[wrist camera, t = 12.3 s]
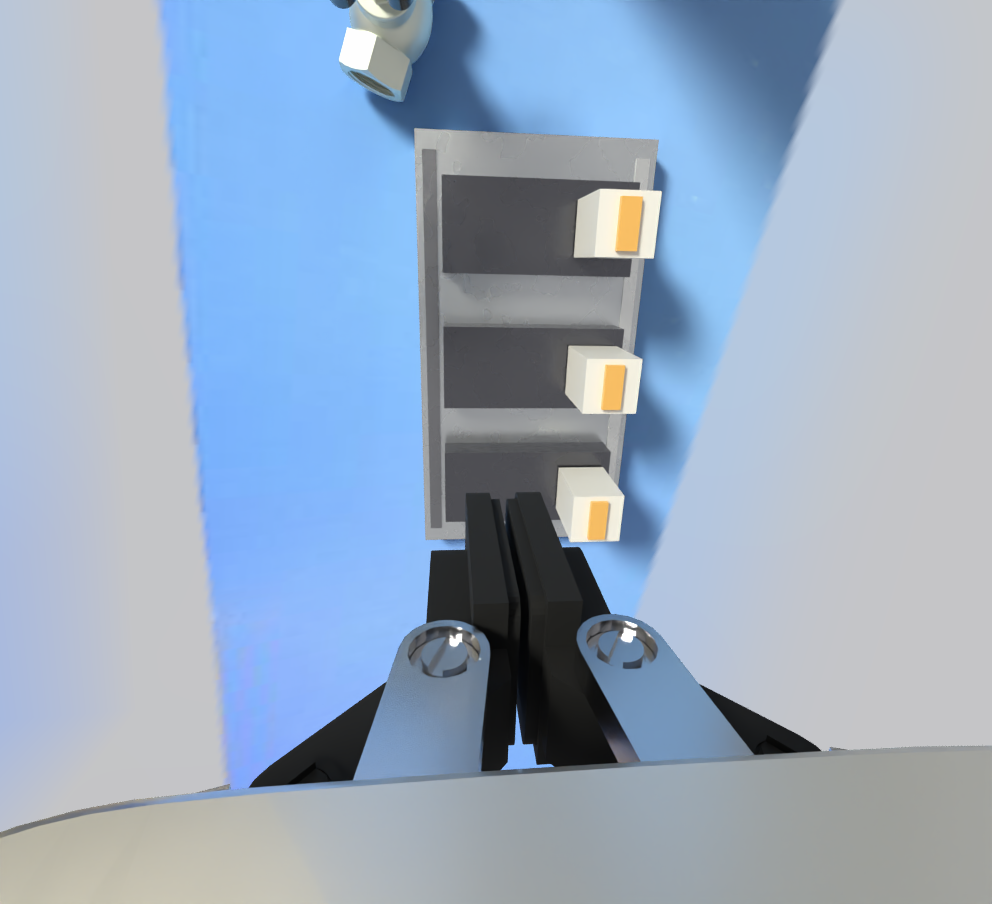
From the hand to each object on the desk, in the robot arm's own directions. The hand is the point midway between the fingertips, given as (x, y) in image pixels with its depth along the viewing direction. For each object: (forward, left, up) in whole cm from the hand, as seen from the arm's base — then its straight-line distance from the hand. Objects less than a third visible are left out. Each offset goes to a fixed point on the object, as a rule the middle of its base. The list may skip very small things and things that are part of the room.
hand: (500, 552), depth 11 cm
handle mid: (0, +8, -21) cm, 22 cm away
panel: (0, +4, -25) cm, 25 cm away
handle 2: (+8, +7, -21) cm, 24 cm away
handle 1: (-8, +7, -21) cm, 24 cm away
